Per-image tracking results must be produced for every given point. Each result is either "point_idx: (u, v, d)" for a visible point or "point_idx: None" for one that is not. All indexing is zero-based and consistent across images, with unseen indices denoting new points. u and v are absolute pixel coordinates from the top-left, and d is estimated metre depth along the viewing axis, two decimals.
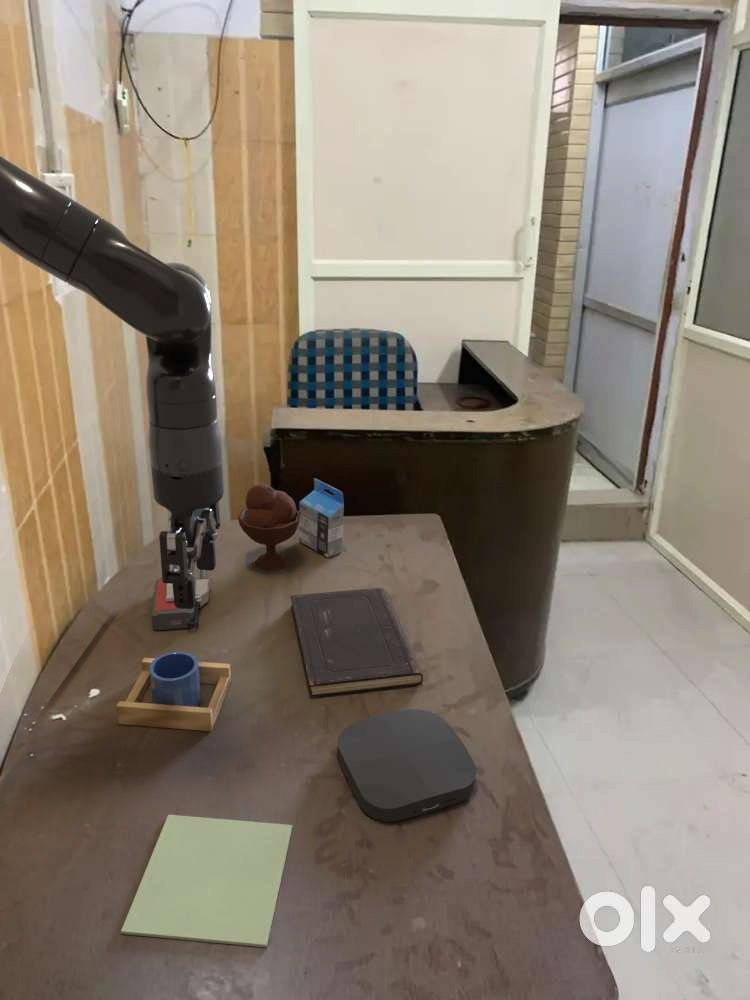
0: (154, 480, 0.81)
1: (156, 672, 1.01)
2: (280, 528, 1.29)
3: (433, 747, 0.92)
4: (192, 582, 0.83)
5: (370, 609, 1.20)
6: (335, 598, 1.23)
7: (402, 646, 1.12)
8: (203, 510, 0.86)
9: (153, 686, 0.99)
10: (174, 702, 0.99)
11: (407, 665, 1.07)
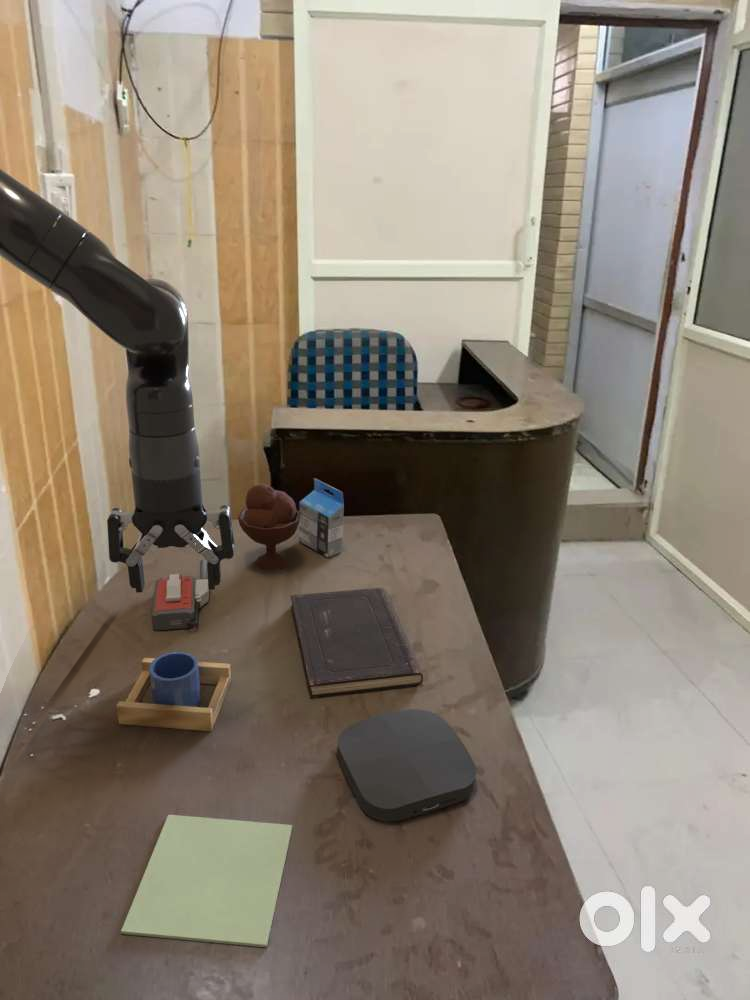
0: None
1: (156, 672, 1.01)
2: (280, 528, 1.29)
3: (433, 747, 0.92)
4: (135, 569, 0.90)
5: (370, 609, 1.20)
6: (335, 598, 1.23)
7: (402, 646, 1.12)
8: (177, 521, 0.88)
9: (153, 686, 0.99)
10: (174, 702, 0.99)
11: (407, 665, 1.07)
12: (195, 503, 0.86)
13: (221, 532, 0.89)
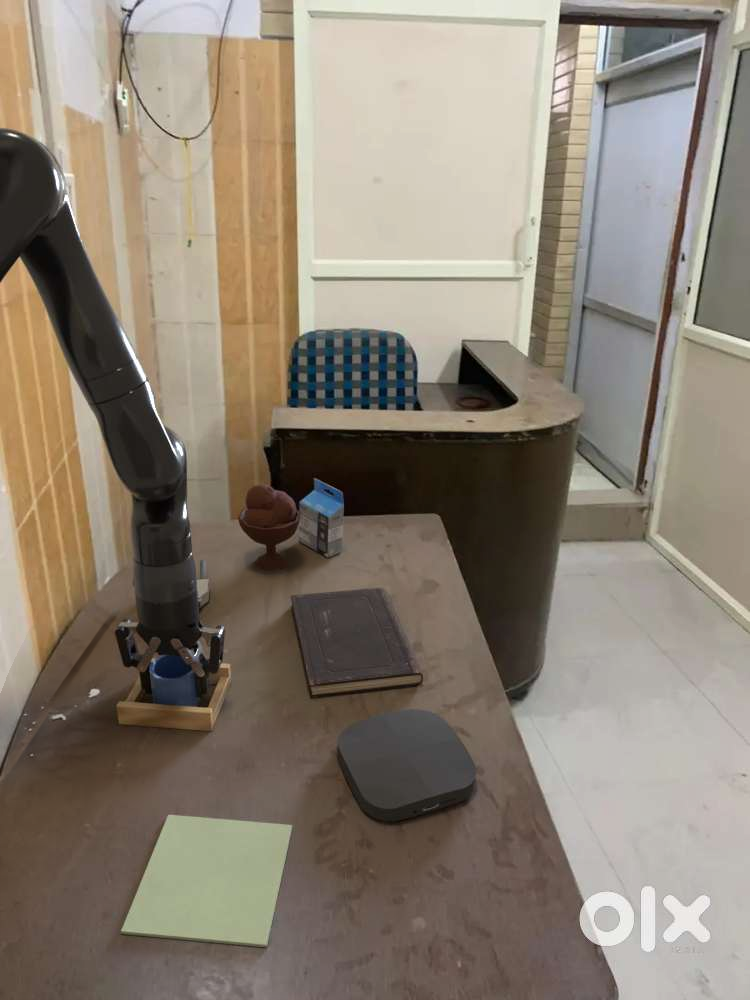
0: None
1: (156, 672, 1.01)
2: (280, 528, 1.29)
3: (433, 747, 0.92)
4: (145, 675, 1.00)
5: (370, 609, 1.20)
6: (335, 598, 1.23)
7: (402, 646, 1.12)
8: (174, 634, 0.96)
9: (153, 686, 0.99)
10: (174, 702, 0.99)
11: (407, 665, 1.07)
12: (189, 622, 0.95)
13: (211, 650, 0.97)
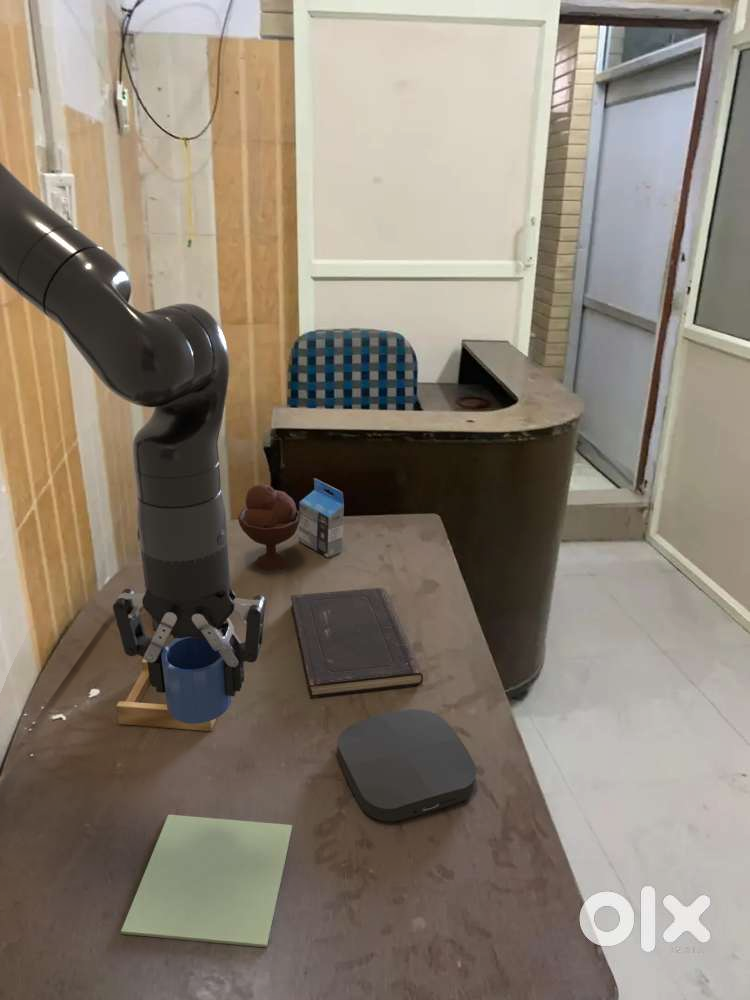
0: None
1: (170, 662, 0.74)
2: (280, 528, 1.29)
3: (433, 747, 0.92)
4: (155, 666, 0.72)
5: (370, 609, 1.20)
6: (335, 598, 1.23)
7: (402, 646, 1.12)
8: (196, 608, 0.69)
9: (167, 681, 0.71)
10: (197, 703, 0.71)
11: (407, 665, 1.07)
12: (217, 589, 0.67)
13: (247, 630, 0.70)
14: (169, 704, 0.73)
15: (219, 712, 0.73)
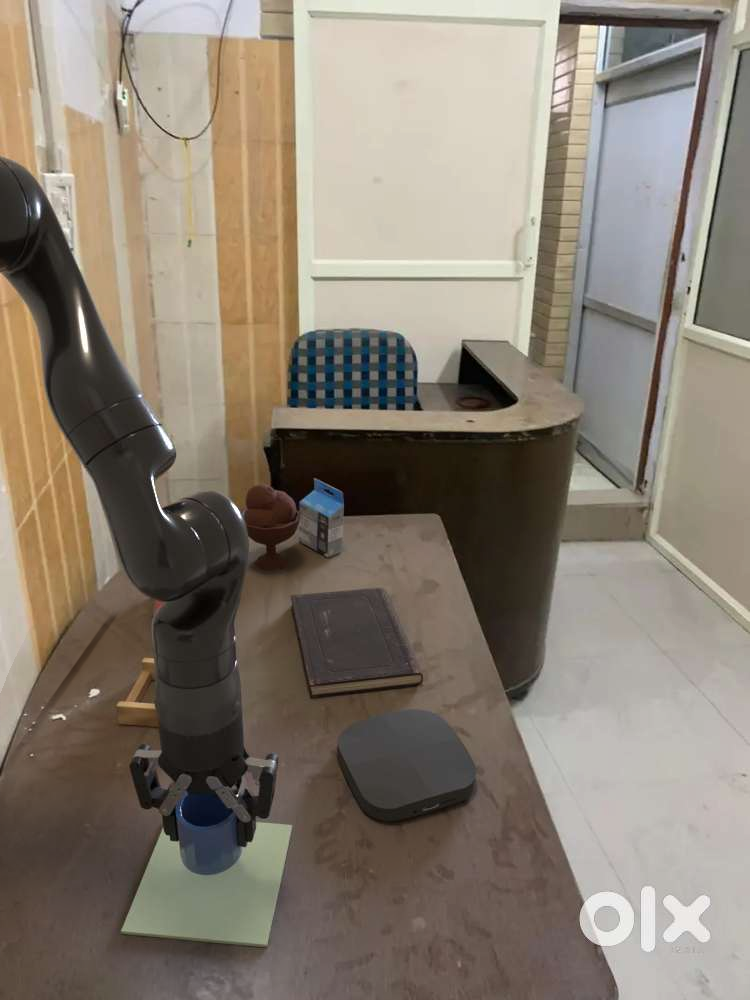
0: None
1: (184, 812, 0.75)
2: (280, 528, 1.29)
3: (433, 747, 0.92)
4: (170, 818, 0.74)
5: (370, 609, 1.20)
6: (335, 598, 1.23)
7: (402, 646, 1.12)
8: (210, 770, 0.71)
9: (181, 835, 0.73)
10: (210, 857, 0.73)
11: (407, 665, 1.07)
12: (231, 756, 0.69)
13: (260, 790, 0.71)
14: (182, 855, 0.74)
15: (231, 863, 0.75)
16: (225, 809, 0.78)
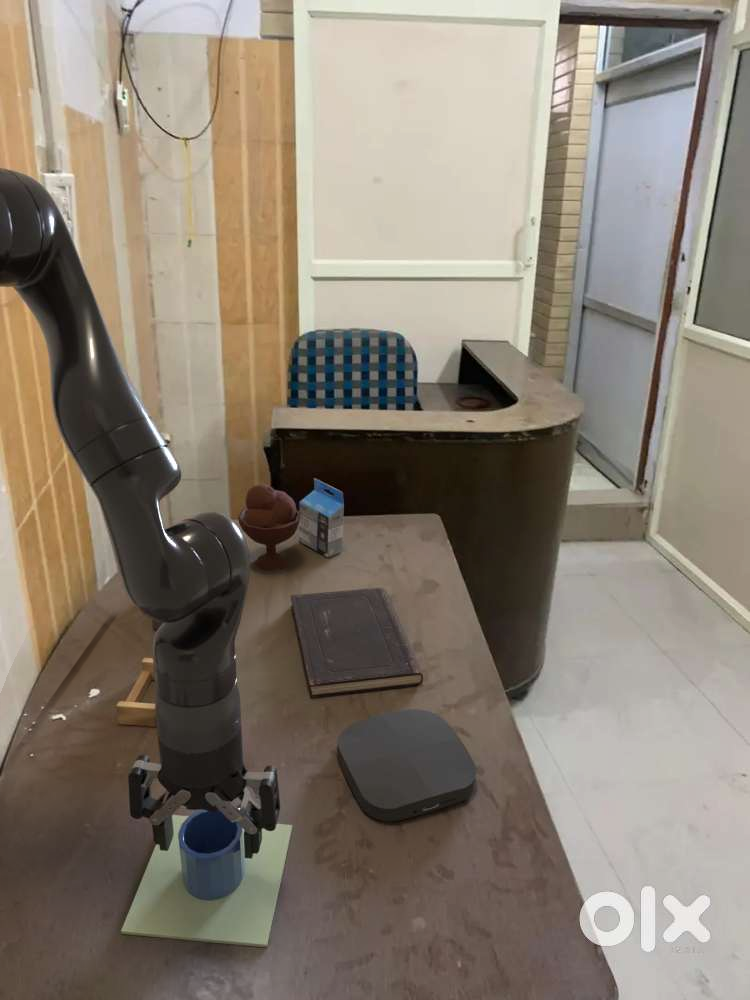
0: None
1: (187, 837, 0.77)
2: (280, 528, 1.29)
3: (433, 747, 0.92)
4: (159, 828, 0.74)
5: (370, 609, 1.20)
6: (335, 598, 1.23)
7: (402, 646, 1.12)
8: (209, 786, 0.71)
9: (184, 861, 0.74)
10: (212, 883, 0.74)
11: (407, 665, 1.07)
12: (230, 772, 0.69)
13: (262, 803, 0.72)
14: (185, 880, 0.76)
15: (232, 888, 0.76)
16: (227, 834, 0.79)
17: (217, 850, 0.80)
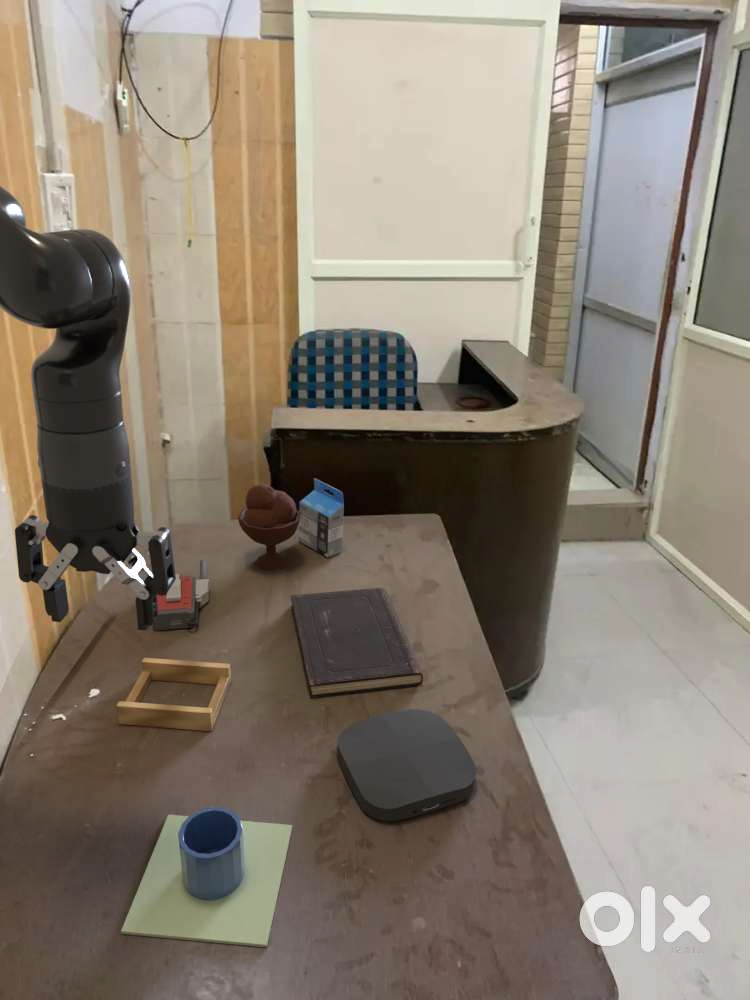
0: None
1: (187, 837, 0.77)
2: (280, 528, 1.29)
3: (433, 747, 0.92)
4: (50, 594, 0.72)
5: (370, 609, 1.20)
6: (335, 598, 1.23)
7: (402, 646, 1.12)
8: (98, 541, 0.69)
9: (184, 861, 0.74)
10: (212, 883, 0.74)
11: (407, 665, 1.07)
12: (117, 522, 0.67)
13: (152, 561, 0.69)
14: (185, 880, 0.76)
15: (232, 888, 0.76)
16: (227, 834, 0.79)
17: (217, 850, 0.80)
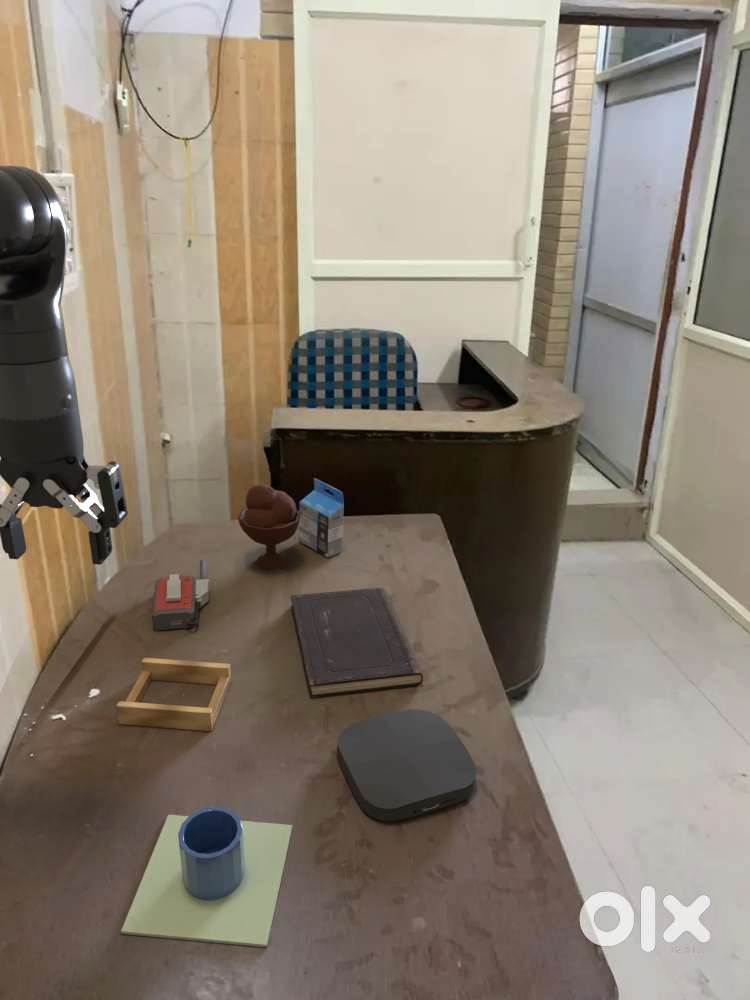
0: None
1: (187, 837, 0.77)
2: (280, 528, 1.29)
3: (433, 747, 0.92)
4: (6, 531, 0.74)
5: (370, 609, 1.20)
6: (335, 598, 1.23)
7: (402, 646, 1.12)
8: (48, 475, 0.71)
9: (184, 861, 0.74)
10: (212, 883, 0.74)
11: (407, 665, 1.07)
12: (65, 454, 0.69)
13: (102, 493, 0.72)
14: (185, 880, 0.76)
15: (232, 888, 0.76)
16: (227, 834, 0.79)
17: (217, 850, 0.80)
